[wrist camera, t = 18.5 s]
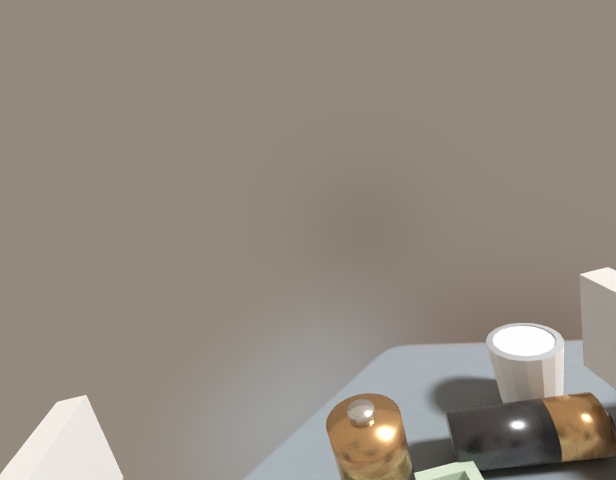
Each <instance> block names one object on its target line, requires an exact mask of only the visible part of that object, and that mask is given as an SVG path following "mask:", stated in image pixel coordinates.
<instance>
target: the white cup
mask: <svg viewBox="0 0 616 480" xmlns="http://www.w3.org/2000/svg"><path fill="white" fill-rule="evenodd" d="M486 343H487V347H488V351H489V355H490V358H491V362H492V366H493V370H494V373H495V377H496V381H497V385H498V388H499V392H500V396H501V399H502V402H503V403H509V402H516V401H524V400H531V399H539V398H546V397H554V396H561V395H563V368H564V340H563V338H562V337H561V335H560V334H559V333H558V332H556V331H555V330H553V329H551V328H549V327H546V326H542V325H538V324H532V323H515V324H507V325H504V326H502V327H499V328H496V329H495V330H493V331H492V332H491V333H489V335H488V337H487V340H486Z"/></svg>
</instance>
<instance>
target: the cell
mask: <svg viewBox="0 0 616 480" xmlns="http://www.w3.org/2000/svg"><path fill="white" fill-rule="evenodd" d="M326 428H327V432H328V436H329V439H330V443H331V446H332V449H333V453H334V456H335V460H336V463H337V467H338V470H339V474H340V477H341V480H416V479H415V474H414V470H413V466H412V461H411V457H410V453H409V448H408V444H407V439H406V435H405V431H404V426H403V422H402V418H401V413H400V410H399V407H398V406H397V404H396V403H395V402H394V401H393V400H391V399H390V398H388V397H385V396H383V395H379V394H360V395H356V396H352V397H350V398H348V399H345V400H344V401H342V402H340V403H339V404H338V405H337V406H335V407H334V408H333V410H332V411H331V412H330V414H329V416H328V418H327V422H326Z"/></svg>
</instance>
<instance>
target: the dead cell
mask: <svg viewBox="0 0 616 480" xmlns="http://www.w3.org/2000/svg"><path fill="white" fill-rule="evenodd" d="M445 415H446V421H447V426H448V430H449V435H450V439H451V443H452V447H453V451H454V455H455V459H456V462H458V461H459V463H460V462H469V461H473V462H474V463H475V465H476V467H477V469H478V470H479V471H485V470H494V469H504V468H513V467H522V466H532V465H541V464H550V463H560V462H569V461H578V460H588V459H597V458H606V457H614V456H615V454H616V439H615V435H614V434H615V432H616V429H615V425H614V422H613V420H612V418H611V416H610V414H609V413H608V412H607V411H605V410H604V408H603V407H602V405H601V403H600V402H599V401H598V399H597V398H596V397H595V396H594V395H593V394H591V393H590V392H584V393H576V394H569V395H561V396H554V397H546V398H539V399H531V400H524V401H516V402H509V403H501V404H493V405H486V406H478V407H471V408H463V409H456V410H448V411H445Z"/></svg>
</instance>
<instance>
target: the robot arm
mask: <svg viewBox="0 0 616 480" xmlns="http://www.w3.org/2000/svg"><path fill="white" fill-rule="evenodd" d="M580 294H581V315H582V335H583V357H584V365H585V366H586V367H587V368H589V369H590V370H591V371H593V372H594V373H595V374H596V375H598V376H599V377H600V378H602V379H603V380H604V381H605V382H607V383H608V384H609V385H610V386H612V387H613V388H614V389H616V271H615V270H613V269H611V268H604V269H599V270H595V271H591V272H587V273H583V274H580ZM0 480H123V477H122V474H121V472H120V470H119V467H118V465H117V463H116V461H115V458H114V456H113V454H112V452H111V450H110V447H109V445H108V443H107V441H106V438H105V436H104V434H103V432H102V429H101V428H100V425H99V423H98V421H97V419H96V416H95V414H94V412H93V409H92V407H91V405H90V403H89V400H88V398H87V396H86V395H84V396H80V397H76V398H72V399H68V400H64V401H60V402H57V403H56V404H55V405H54V407H53V408H52V409H51V410H50V412H49V413H48V414H47V415H46V417H45V418H44V419H43V421H42V422H41V423H40V424H39V426H38V427H37V428H36V430H35V431H34V432H33V433H32V435H31V436H30V437H29V438H28V440H27V441H26V442H25V444H24V445H23V446H22V447H21V449H20V450H19V451H18V453H17V454H16V455H15V456H14V458H13V459H12V460H11V461H10V463H9V464H8V465H7V466H6V468H5V469H4V470H3V472H2V473H1V474H0Z"/></svg>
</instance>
